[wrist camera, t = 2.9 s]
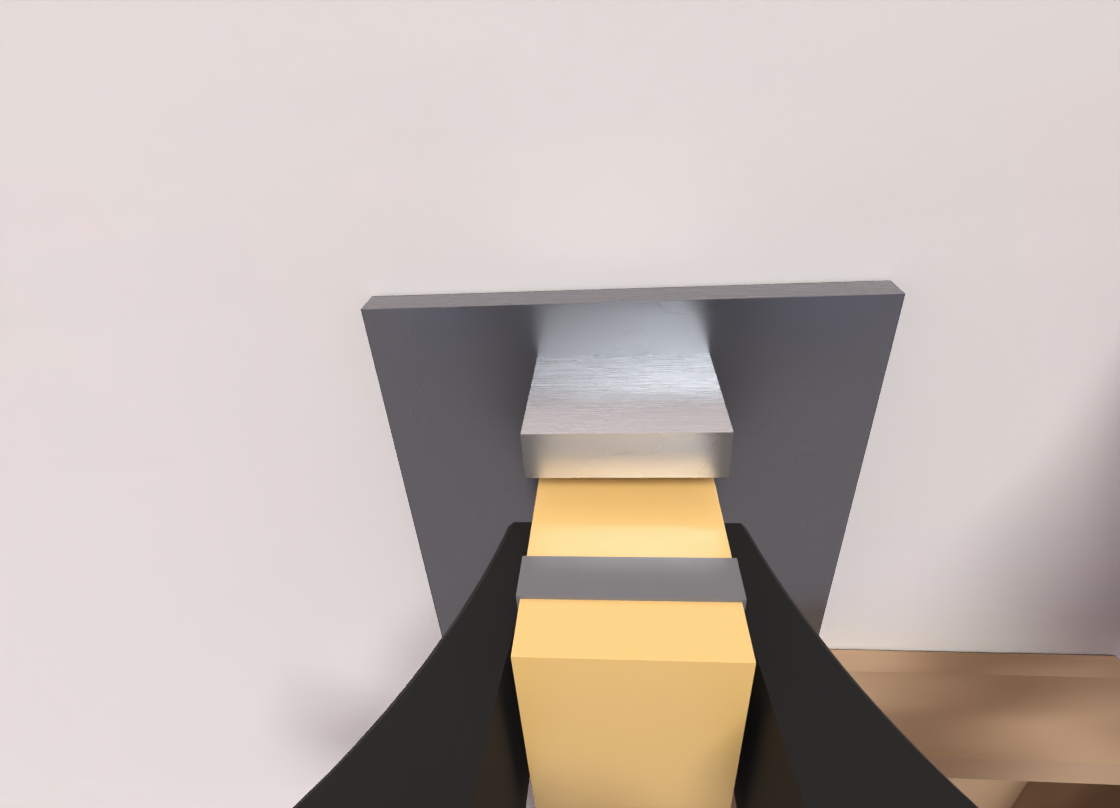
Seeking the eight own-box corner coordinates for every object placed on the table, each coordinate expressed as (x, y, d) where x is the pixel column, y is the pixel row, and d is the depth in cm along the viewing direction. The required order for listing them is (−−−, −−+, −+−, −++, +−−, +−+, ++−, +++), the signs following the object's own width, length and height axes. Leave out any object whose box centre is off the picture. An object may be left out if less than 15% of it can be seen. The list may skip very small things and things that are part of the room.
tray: (1115, 655, 15) (1205, 767, 12) (990, 842, 20) (1038, 945, 17) (710, 647, 15) (727, 749, 13) (690, 828, 20) (699, 924, 18)
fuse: (703, 417, 11) (761, 660, 7) (690, 587, 13) (727, 846, 9) (545, 419, 11) (506, 654, 7) (560, 586, 14) (536, 836, 9)
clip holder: (890, 280, 10) (984, 364, 8) (807, 630, 15) (848, 754, 12) (372, 296, 11) (300, 376, 8) (449, 623, 16) (417, 738, 13)
